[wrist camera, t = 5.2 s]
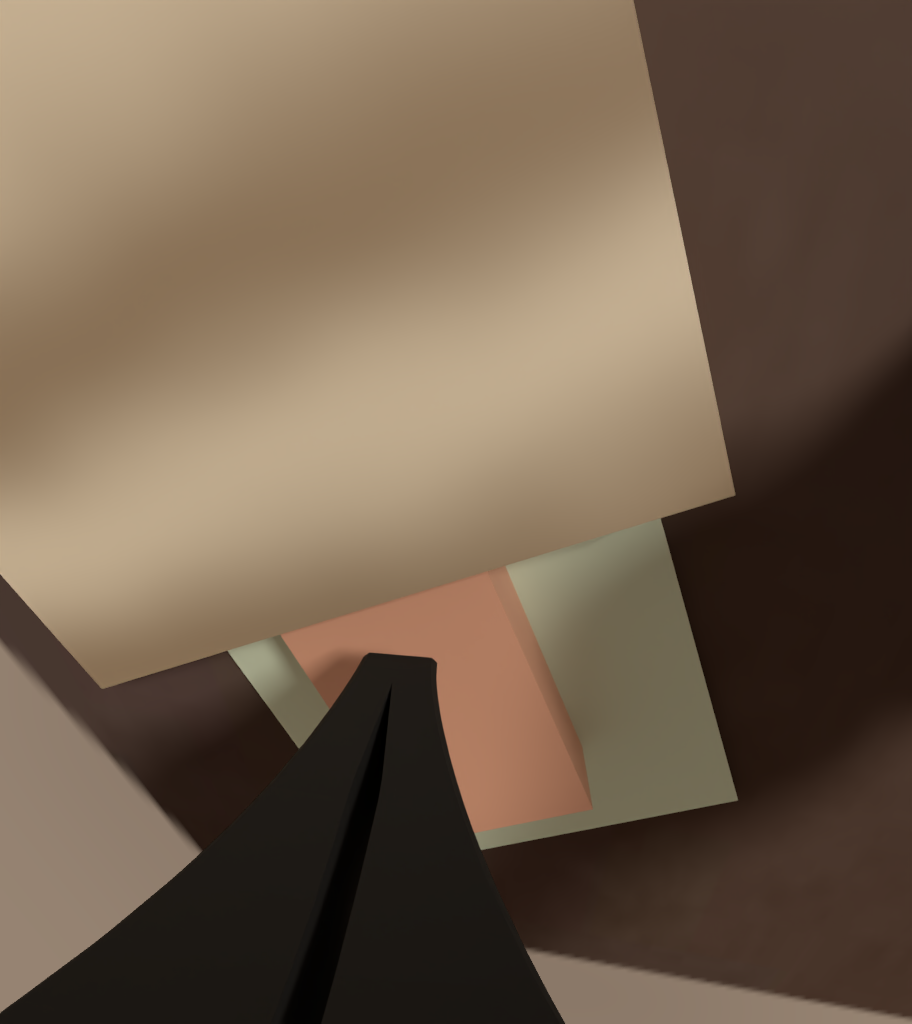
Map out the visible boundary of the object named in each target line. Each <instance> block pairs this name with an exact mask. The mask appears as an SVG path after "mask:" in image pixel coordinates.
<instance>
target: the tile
mask: <svg viewBox="0 0 912 1024" xmlns="http://www.w3.org/2000/svg"><path fill="white" fill-rule="evenodd" d="M280 635H281V637H282V638H283V640H284V641H285V643H286V644H287V646H288V647H289V649H290V650H291V652H292V653H293V655H294V656H295V658H296V659H297V661H298V662H299V664H300V665H301V667H302V668H303V670H304V671H305V673H306V674H307V676H308V677H309V679H310V680H311V682H312V683H313V685H314V686H315V688H316V689H317V691H318V692H319V694H320V695H321V697H322V698H323V700H324V701H325V703H326V704H327V706H328V707H329V709H330V708H331V707H332V705H333V704H334V702H335V701H336V700H337V698H338V697H339V695H340V694H341V692H342V691H343V689H344V688H345V686H346V685H347V683H348V682H349V680H350V679H351V677H352V676H353V674H354V672H355V671H356V669H357V667H358V666H359V664H360V662H361V660H362V659H363V657H364V656H365V655H367V654H368V653H369V652H370V653H382V654H394V655H406V656H418V657H430V658H433V659H434V660H435V661H436V662H437V693H438V701H439V708H440V714H441V720H442V725H443V729H444V734H445V738H446V742H447V746H448V751H449V755H450V759H451V762H452V766H453V770H454V773H455V777H456V780H457V783H458V786H459V790H460V793H461V796H462V799H463V802H464V805H465V808H466V811H467V814H468V817H469V820H470V823H471V825H472V828H473V831H474V833H477V832H482V831H487V830H492V829H497V828H502V827H507V826H512V825H517V824H522V823H527V822H532V821H537V820H542V819H547V818H552V817H557V816H562V815H567V814H572V813H577V812H582V811H587V810H592V809H593V807H592V801H591V795H590V789H589V783H588V777H587V772H586V766H585V760H584V754H583V748H582V745H581V743H580V740H579V738H578V736H577V733H576V731H575V729H574V726H573V724H572V722H571V719H570V717H569V714H568V712H567V710H566V707H565V705H564V703H563V700H562V698H561V696H560V693H559V691H558V689H557V686H556V684H555V682H554V679H553V677H552V675H551V672H550V670H549V667H548V665H547V663H546V660H545V658H544V656H543V653H542V651H541V649H540V646H539V644H538V642H537V639H536V637H535V635H534V632H533V630H532V627H531V625H530V623H529V620H528V618H527V616H526V613H525V611H524V609H523V606H522V604H521V602H520V599H519V597H518V595H517V592H516V590H515V587H514V585H513V583H512V580H511V578H510V576H509V573H508V571H507V569H506V566H503V567H499V568H496V569H493V570H490V571H486V572H483V573H480V574H476V575H473V576H470V577H467V578H463V579H460V580H457V581H454V582H450V583H447V584H444V585H440V586H437V587H434V588H431V589H427V590H424V591H421V592H418V593H414V594H411V595H408V596H405V597H401V598H398V599H395V600H391V601H388V602H385V603H382V604H378V605H375V606H372V607H369V608H365V609H362V610H359V611H355V612H352V613H349V614H346V615H342V616H339V617H336V618H333V619H329V620H326V621H323V622H319V623H316V624H313V625H310V626H306V627H303V628H300V629H297V630H293V631H290V632H287V633H284V634H280Z"/></svg>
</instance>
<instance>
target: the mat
mask: <svg viewBox="0 0 912 1024" xmlns="http://www.w3.org/2000/svg"><path fill="white" fill-rule="evenodd" d="M506 569H507V571H508V573H509V576H510V578H511V580H512V583H513V585H514V587H515V590H516V592H517V595H518V597H519V599H520V602H521V604H522V606H523V609H524V611H525V613H526V616H527V618H528V620H529V623H530V625H531V627H532V630H533V632H534V635H535V637H536V639H537V642H538V644H539V646H540V649H541V651H542V653H543V656H544V658H545V660H546V663H547V665H548V667H549V670H550V672H551V675H552V677H553V679H554V682H555V684H556V686H557V689H558V691H559V693H560V696H561V698H562V700H563V703H564V705H565V707H566V710H567V712H568V714H569V717H570V719H571V722H572V724H573V726H574V729H575V731H576V733H577V736H578V738H579V740H580V743H581V745H582V748H583V754H584V760H585V766H586V772H587V777H588V783H589V789H590V795H591V801H592V807H593V809H592V810H587V811H582V812H577V813H572V814H567V815H562V816H557V817H552V818H547V819H542V820H537V821H532V822H527V823H522V824H517V825H512V826H507V827H502V828H497V829H492V830H487V831H482V832H477V833H475V836H476V839H477V841H478V844H479V847H480V849H481V850H483V849H489V848H494V847H499V846H504V845H509V844H515V843H520V842H525V841H530V840H535V839H541V838H546V837H551V836H556V835H561V834H567V833H572V832H577V831H582V830H587V829H592V828H598V827H603V826H608V825H613V824H618V823H624V822H629V821H634V820H639V819H644V818H650V817H655V816H660V815H665V814H670V813H676V812H681V811H686V810H691V809H696V808H702V807H707V806H712V805H717V804H722V803H727V802H733V801H738V798H737V794H736V791H735V787H734V784H733V780H732V776H731V773H730V769H729V765H728V762H727V758H726V754H725V751H724V747H723V744H722V740H721V736H720V733H719V729H718V725H717V722H716V718H715V714H714V711H713V707H712V704H711V700H710V696H709V693H708V689H707V685H706V682H705V678H704V674H703V671H702V667H701V664H700V660H699V656H698V653H697V649H696V645H695V642H694V638H693V634H692V631H691V627H690V624H689V620H688V616H687V613H686V609H685V605H684V602H683V598H682V594H681V591H680V587H679V584H678V580H677V576H676V573H675V569H674V565H673V562H672V558H671V554H670V551H669V547H668V544H667V540H666V536H665V533H664V529H663V525H662V522H661V518H660V519H656V520H653V521H650V522H647V523H643V524H640V525H637V526H633V527H630V528H627V529H624V530H620V531H617V532H614V533H611V534H607V535H604V536H601V537H597V538H594V539H591V540H588V541H584V542H581V543H578V544H575V545H571V546H568V547H565V548H562V549H558V550H555V551H552V552H548V553H545V554H542V555H539V556H535V557H532V558H529V559H526V560H522V561H519V562H516V563H512V564H509V565H506ZM228 652H229V654H230V655H231V656H232V658H233V659H234V661H235V662H236V663H237V665H238V666H239V667H240V669H241V670H242V671H243V673H244V674H245V676H246V677H247V678H248V680H249V681H250V682H251V684H252V685H253V687H254V688H255V689H256V691H257V692H258V693H259V695H260V696H261V698H262V699H263V700H264V702H265V703H266V704H267V706H268V707H269V708H270V710H271V711H272V713H273V714H274V715H275V717H276V718H277V719H278V721H279V722H280V724H281V725H282V726H283V728H284V729H285V730H286V732H287V733H288V734H289V736H290V737H291V739H292V740H293V741H294V743H295V744H296V745H297V747H298V748H300V747H301V746H302V745H303V744H304V742H305V741H306V740H307V739H308V737H309V736H310V735H311V733H312V732H313V731H314V729H315V728H316V727H317V725H318V724H319V723H320V721H321V720H322V719H323V717H324V716H325V715H326V713H327V712H328V711H329V707H328V706H327V704H326V703H325V701H324V700H323V698H322V697H321V695H320V694H319V692H318V691H317V689H316V688H315V686H314V685H313V683H312V682H311V680H310V679H309V677H308V676H307V674H306V673H305V671H304V670H303V668H302V667H301V665H300V664H299V662H298V661H297V659H296V658H295V656H294V655H293V653H292V652H291V650H290V649H289V647H288V646H287V644H286V643H285V641H284V640H283V638H282V637H281V635H277V636H274V637H270V638H267V639H264V640H261V641H257V642H254V643H251V644H248V645H244V646H241V647H238V648H234V649H231V650H228Z"/></svg>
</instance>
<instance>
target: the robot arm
mask: <svg viewBox="0 0 912 1024" xmlns="http://www.w3.org/2000/svg"><path fill="white" fill-rule="evenodd" d="M0 1024H565V1023H564V1021H563V1019H562V1017H561V1015H560V1013H559V1012H558V1010H557V1008H556V1006H555V1005H554V1003H553V1001H552V999H551V997H550V995H549V994H548V992H547V990H546V988H545V986H544V984H543V982H542V980H541V978H540V976H539V974H538V972H537V971H536V969H535V967H534V965H533V963H532V961H531V959H530V957H529V955H528V953H527V951H526V949H525V947H524V945H523V943H522V941H521V939H520V937H519V935H518V933H517V930H516V928H515V926H514V924H513V922H512V920H511V918H510V915H509V913H508V911H507V909H506V907H505V905H504V903H503V900H502V898H501V896H500V894H499V892H498V890H497V888H496V885H495V883H494V881H493V878H492V876H491V874H490V871H489V869H488V866H487V864H486V861H485V859H484V857H483V854H482V852H481V849H480V847H479V844H478V841H477V839H476V836H475V833H474V831H473V828H472V825H471V823H470V820H469V817H468V814H467V811H466V808H465V805H464V802H463V799H462V796H461V793H460V790H459V786H458V783H457V780H456V777H455V773H454V770H453V766H452V762H451V759H450V755H449V751H448V746H447V742H446V738H445V734H444V729H443V725H442V720H441V714H440V708H439V701H438V693H437V662H436V661H435V660H434V659H433V658H430V657H418V656H406V655H394V654H382V653H370V652H369V653H368V654H367V655H365V656H364V657H363V659H362V660H361V662H360V664H359V666H358V667H357V669H356V671H355V672H354V674H353V676H352V677H351V679H350V680H349V682H348V683H347V685H346V686H345V688H344V689H343V691H342V692H341V694H340V695H339V697H338V698H337V700H336V701H335V702H334V704H333V705H332V707H331V708H330V709H329V711H328V712H327V713H326V715H325V716H324V717H323V719H322V720H321V721H320V723H319V724H318V725H317V727H316V728H315V729H314V731H313V732H312V733H311V735H310V736H309V737H308V739H307V740H306V741H305V742H304V744H303V745H302V746H301V747H300V748H299V750H298V751H297V752H296V753H295V754H294V755H293V757H292V758H291V759H290V760H289V761H288V763H287V764H286V765H285V766H284V767H283V769H282V770H281V771H280V772H279V773H278V775H277V776H276V777H275V778H274V779H273V780H272V781H271V782H270V784H269V785H268V786H267V787H266V788H265V789H264V790H263V791H262V792H261V793H260V795H259V796H258V797H257V798H256V799H255V800H254V801H253V802H252V803H251V804H250V805H249V806H248V807H247V808H246V809H245V810H244V811H243V812H242V813H241V814H240V815H239V816H238V817H237V818H236V820H235V821H234V822H233V823H232V824H231V825H230V826H229V827H228V828H227V829H225V830H224V831H223V832H222V833H221V834H220V835H219V836H218V837H217V838H216V839H215V840H214V841H213V842H212V843H211V844H210V845H209V846H208V847H207V848H205V849H204V850H203V851H202V852H201V853H200V854H199V855H198V856H197V857H196V858H195V859H194V860H193V861H192V862H191V863H189V864H188V865H187V866H186V867H185V868H184V869H183V870H182V871H181V872H179V873H178V874H177V875H176V876H175V877H174V878H173V879H172V880H170V881H169V882H168V883H167V884H166V885H164V886H163V887H162V888H161V889H160V890H158V891H157V892H156V893H155V894H154V895H152V896H151V897H150V898H149V899H148V900H146V901H145V902H144V903H143V904H142V905H140V906H139V907H138V908H137V909H136V910H134V911H133V912H132V913H131V914H130V915H128V916H127V917H126V918H125V919H124V920H122V921H121V922H120V923H119V924H118V925H116V926H115V927H114V928H113V929H112V930H110V931H109V932H108V933H107V934H105V935H104V936H103V937H102V938H100V939H99V940H98V941H96V942H95V943H94V944H92V945H91V946H90V947H89V948H87V949H86V950H84V951H83V952H82V953H80V954H79V955H78V956H77V957H75V958H74V959H72V960H71V961H70V962H68V963H67V964H66V965H64V966H63V967H62V968H60V969H59V970H58V971H56V972H55V973H54V974H52V975H51V976H49V977H48V978H47V979H46V980H44V981H43V982H41V983H40V984H39V985H37V986H36V987H35V988H33V989H32V990H31V991H29V992H28V993H27V994H25V995H24V996H23V997H21V998H20V999H18V1000H17V1001H16V1002H14V1003H13V1004H11V1005H10V1006H9V1007H7V1008H6V1009H5V1010H3V1011H2V1012H1V1013H0Z"/></svg>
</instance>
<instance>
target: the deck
mask: <svg viewBox="0 0 912 1024" xmlns="http://www.w3.org/2000/svg"><path fill="white" fill-rule="evenodd" d="M732 496H735V490H734V486H733V481H732V476H731V471H730V466H729V461H728V457H727V452H726V447H725V442H724V437H723V432H722V427H721V423H720V418H719V413H718V408H717V403H716V398H715V394H714V389H713V384H712V379H711V374H710V369H709V365H708V360H707V355H706V350H705V345H704V340H703V335H702V331H701V326H700V321H699V316H698V311H697V306H696V302H695V297H694V292H693V287H692V282H691V277H690V273H689V268H688V263H687V258H686V253H685V248H684V243H683V239H682V234H681V229H680V224H679V219H678V214H677V210H676V205H675V200H674V195H673V190H672V185H671V181H670V176H669V171H668V166H667V161H666V156H665V151H664V147H663V142H662V137H661V132H660V127H659V122H658V118H657V113H656V108H655V103H654V98H653V93H652V89H651V84H650V79H649V74H648V69H647V64H646V59H645V55H644V50H643V45H642V40H641V35H640V30H639V26H638V21H637V16H636V11H635V6H634V1H633V0H0V574H1V575H2V577H3V578H4V579H5V580H6V581H7V582H8V583H9V585H10V586H11V587H12V588H13V589H14V590H15V591H16V592H17V594H18V595H19V596H20V597H21V598H22V599H23V600H24V601H25V603H26V604H27V605H28V606H29V607H30V608H31V609H32V611H33V612H34V613H35V614H36V615H37V616H38V617H39V618H40V620H41V621H42V622H43V623H44V624H45V625H46V626H47V627H48V629H49V630H50V631H51V632H52V633H53V634H54V635H55V637H56V638H57V639H58V640H59V641H60V642H61V643H62V644H63V646H64V647H65V648H66V649H67V650H68V651H69V652H70V653H71V655H72V656H73V657H74V658H75V659H76V660H77V661H78V662H79V664H80V665H81V666H82V667H83V668H84V669H85V670H86V672H87V673H88V674H89V675H90V676H91V677H92V678H93V679H94V681H95V682H96V683H97V684H98V685H99V686H100V687H101V688H102V689H104V688H107V687H110V686H113V685H117V684H120V683H123V682H127V681H130V680H133V679H136V678H140V677H143V676H146V675H149V674H153V673H156V672H159V671H162V670H166V669H169V668H172V667H176V666H179V665H182V664H185V663H189V662H192V661H195V660H198V659H202V658H205V657H208V656H212V655H215V654H218V653H221V652H225V651H228V650H231V649H234V648H238V647H241V646H244V645H248V644H251V643H254V642H257V641H261V640H264V639H267V638H270V637H274V636H277V635H280V634H284V633H287V632H290V631H293V630H297V629H300V628H303V627H306V626H310V625H313V624H316V623H319V622H323V621H326V620H329V619H333V618H336V617H339V616H342V615H346V614H349V613H352V612H355V611H359V610H362V609H365V608H369V607H372V606H375V605H378V604H382V603H385V602H388V601H391V600H395V599H398V598H401V597H405V596H408V595H411V594H414V593H418V592H421V591H424V590H427V589H431V588H434V587H437V586H440V585H444V584H447V583H450V582H454V581H457V580H460V579H463V578H467V577H470V576H473V575H476V574H480V573H483V572H486V571H490V570H493V569H496V568H499V567H503V566H506V565H509V564H512V563H516V562H519V561H522V560H526V559H529V558H532V557H535V556H539V555H542V554H545V553H548V552H552V551H555V550H558V549H562V548H565V547H568V546H571V545H575V544H578V543H581V542H584V541H588V540H591V539H594V538H597V537H601V536H604V535H607V534H611V533H614V532H617V531H620V530H624V529H627V528H630V527H633V526H637V525H640V524H643V523H647V522H650V521H653V520H656V519H660V518H663V517H666V516H669V515H673V514H676V513H679V512H683V511H686V510H689V509H692V508H696V507H699V506H702V505H705V504H709V503H712V502H715V501H719V500H722V499H725V498H728V497H732Z"/></svg>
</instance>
